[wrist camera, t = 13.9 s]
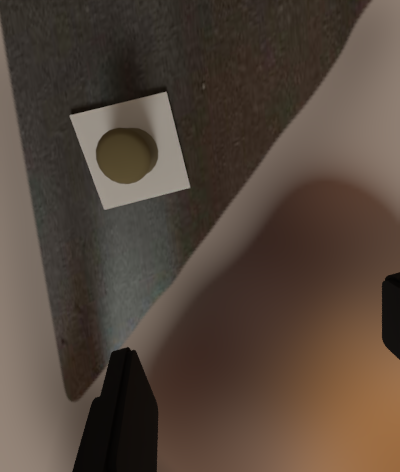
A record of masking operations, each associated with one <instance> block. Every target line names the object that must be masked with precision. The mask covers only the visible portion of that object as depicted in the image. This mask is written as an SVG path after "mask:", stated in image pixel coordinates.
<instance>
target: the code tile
mask: <svg viewBox="0 0 400 472" xmlns="http://www.w3.org/2000/svg"><path fill="white" fill-rule="evenodd" d="M70 118H71V121H72V124H73V126H74V129H75V132H76V134H77V137H78V140H79V143H80V145H81V148H82V151H83V153H84V156H85V159H86V161H87V164H88V167H89V170H90V172H91V175H92V178H93V180H94V183H95V186H96V189H97V191H98V194H99V197H100V199H101V202H102V205H103V207H104V210H106V209H110V208H113V207H117V206H121V205H125V204H129V203H133V202H137V201H141V200H145V199H148V198H152V197H156V196H160V195H164V194H168V193H172V192H176V191H179V190H183V189H187V188H190V184H189V180H188V176H187V172H186V168H185V164H184V160H183V156H182V152H181V148H180V144H179V140H178V136H177V132H176V128H175V124H174V120H173V116H172V112H171V107H170V103H169V99H168V95H167V92H163V93H159V94H155V95H151V96H147V97H143V98H139V99H135V100H130V101H126V102H122V103H118V104H114V105H110V106H106V107H102V108H98V109H94V110H90V111H86V112H81V113H77V114H73V115H70ZM115 128H139V129H141V130H144V131H146V132H147V133H148V134H149V135H151V136H152V138H153V139H154V141H155V142H156V145H157V148H158V160H157V163H156V165H155V167H154V168H153V169H152V171H150V172H149V173H147V174H146V175H145V176H144V177H143V178H142V179H140V180H139V181H137V182H135V183H131V184H120V183H117V182H114V181H112V180H110V179H109V178H108V177H106V176H105V175H104V174H103V172H102V171H101V170H100V168H99V166H98V163H97V161H96V148H97V144H98V141H99V140H100V138H101V137H102V136H103V135H104V134H105V133H106V132H108V131H109V130H112V129H115Z"/></svg>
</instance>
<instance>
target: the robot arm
mask: <svg viewBox="0 0 400 472" xmlns="http://www.w3.org/2000/svg"><path fill="white" fill-rule="evenodd" d="M382 340H383V342H384V344H385V346H386V347H387V348H388V349H389V350H390V351H391V352H392V353H393V354H394V355H395V356H396V357H397V358H399V359H400V272H399V273H396V274H392V275H388V276H387V277H386V278H385V281H383V283H382ZM157 440H158V406H157V402H156V399H155V397H154V395H153V392H152V390H151V387H150V385H149V382H148V380H147V377H146V375H145V372H144V370H143V367H142V365H141V363H140V360H139V357H138V355H137V353H136V351H135V350H132V351H131V350H130V348H129V347H127V348H123V349H120V350H116V351H113V352H112V353H111V356H110V360H109V364H108V368H107V372H106V376H105V380H104V384H103V388H102V392H101V395H100V397H97V398H95V399H94V400H93V402H92V404H91V408H90V412H89V415H88V418H87V422H86V425H85V429H84V432H83V436H82V439H81V443H80V446H79V450H78V453H77V457H76V461H75V464H74V468H73V471H72V472H157Z"/></svg>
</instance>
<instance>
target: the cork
mask: <svg viewBox="0 0 400 472" xmlns="http://www.w3.org/2000/svg"><path fill="white" fill-rule="evenodd" d="M157 160H158V148H157V145H156V142H155V141H154V139H153V138H152V136H151V135H149V134H148V133H147V132H146V131H144V130H141V129H139V128H115V129H112V130H109V131H108V132H106V133H105V134H104V135H103V136H102V137H101V138H100V140H99V141H98V144H97V148H96V161H97V163H98V166H99V168H100V170H101V171H102V172H103V174H104V175H105V176H106V177H108V178H109V179H110V180H112V181H114V182H117V183H120V184H131V183H135V182H137V181H139V180H140V179H142V178H143V177H144V176H145V175H146V174H147V173H149V172H150V171H152V169H153V168H154V167H155V165H156V163H157Z"/></svg>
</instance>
